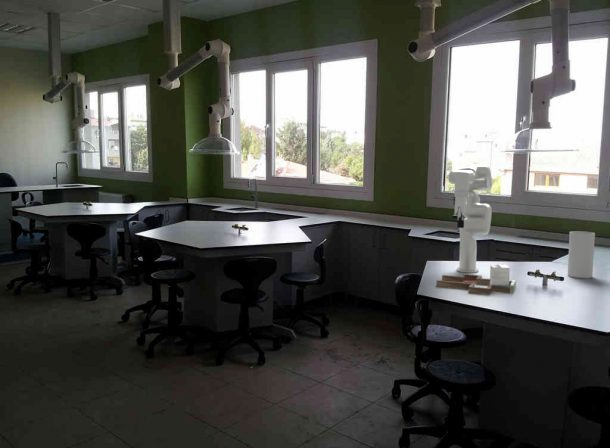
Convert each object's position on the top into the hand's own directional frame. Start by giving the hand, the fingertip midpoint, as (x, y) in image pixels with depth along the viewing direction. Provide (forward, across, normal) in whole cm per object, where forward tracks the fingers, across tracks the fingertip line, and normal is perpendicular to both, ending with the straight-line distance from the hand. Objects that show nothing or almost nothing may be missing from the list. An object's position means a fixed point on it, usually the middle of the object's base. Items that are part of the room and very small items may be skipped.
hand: (460, 227), depth 287 cm
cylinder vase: (+29, -38, +60) cm, 77 cm away
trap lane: (+29, +13, +10) cm, 33 cm away
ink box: (+29, +12, +22) cm, 39 cm away
